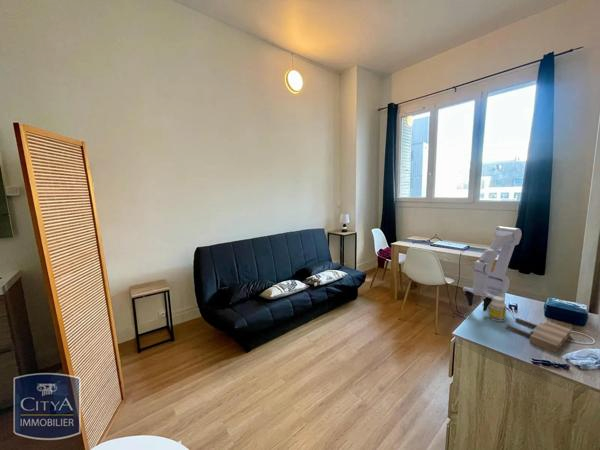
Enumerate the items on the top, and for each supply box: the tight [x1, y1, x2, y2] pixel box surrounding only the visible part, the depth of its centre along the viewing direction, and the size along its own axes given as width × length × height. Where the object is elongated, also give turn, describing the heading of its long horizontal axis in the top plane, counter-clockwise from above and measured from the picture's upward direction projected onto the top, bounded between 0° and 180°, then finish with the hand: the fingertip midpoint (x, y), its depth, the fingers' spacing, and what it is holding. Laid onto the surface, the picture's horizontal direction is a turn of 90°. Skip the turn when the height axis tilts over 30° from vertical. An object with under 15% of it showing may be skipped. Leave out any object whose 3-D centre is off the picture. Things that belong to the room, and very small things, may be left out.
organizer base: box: [505, 317, 572, 353], centre depth 110 cm, size 20×18×3 cm
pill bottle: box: [488, 296, 507, 323], centre depth 122 cm, size 6×6×11 cm
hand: (477, 308), depth 130 cm, fingers open, 6 cm apart
